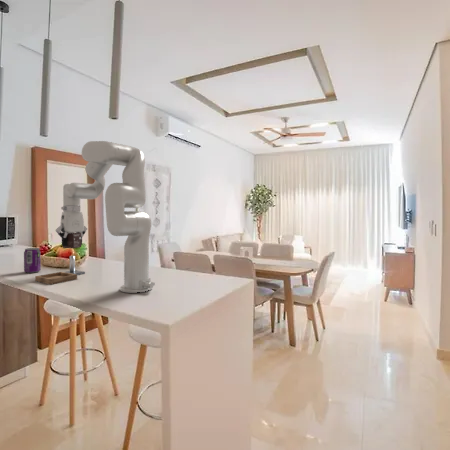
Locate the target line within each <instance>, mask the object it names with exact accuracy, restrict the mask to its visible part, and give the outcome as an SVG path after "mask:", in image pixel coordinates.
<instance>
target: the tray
mask: <svg viewBox="0 0 450 450" xmlns="http://www.w3.org/2000/svg"><path fill="white" fill-rule="evenodd" d="M65 272H66V271H57V272H52V273H46V274H41V275H40V274H39V275H35V280H34V281H35V282H37V281H38V282H39V283H43V284H48V285H57V284H61V283H66V282H71V281H75V280H78V275H77V274H71V273H65Z"/></svg>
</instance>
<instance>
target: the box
mask: <svg viewBox="0 0 450 450" xmlns="http://www.w3.org/2000/svg"><path fill="white" fill-rule="evenodd" d="M66 238H67V246H62V248H63V249H77V248H82V245H81V233H76V232H73V233H68V234H67V236H66Z"/></svg>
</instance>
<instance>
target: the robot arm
mask: <svg viewBox="0 0 450 450" xmlns="http://www.w3.org/2000/svg"><path fill="white" fill-rule="evenodd" d="M81 157H82V159H83V160H84V161H86V162H87V163H86V165H85V166H84V167H85V168H84V169H85V173H86V174H87V176H89V177H90V178H91V179H93V180H94V182H93V183H84V182H71V183H65V184H64V185H63V186H62V188H63V189H62V190H63V191H62V195H63V198H62V199H63V200H62V201H63V206H61V207H60V209H61V210H63V211H62V213H61V216H60V225H59V226H58V227H57V228H56V229H55V232H56V233H57V235H58V236H60V238H61V247H63V246H67V238H66V236H67V234H68V233H81V246H82V245H83V237H84V235H85V233H86V232H87V230H88V228H87V227H86V226H85V221H84V216H83V215H84V214H83V212H82V211H81V200H96V199H97V198H98V197H100V195H101V194H102V193H103V192H104V190H105V194H104V204H105V216H106V217H105V218H106V226H107V230H108V232H109V234H111V235H112V236H114V237H126V236H127V238H126V241H125V242H124V246H123V248H124V249H123V259H124V260H123V263H124V264H123V269H124V270H123V272H124V274H123V275H124V276H123V278H124V279H123V282H124V283H123V285H121V286H120V287H119V290H120V292H123V293H127V294H128V293H130V294H137V292H140V293H146V292H149V291H151V290H153V288H154V286H156V284H155V283H156V282H153V281H151V278H150V277H149V273H150V272H149V267H150V265H149V261H150V260H149V253H150V250H149V249H150V234H151V229H152V218H151V217H150V215H149V214H148V213H146V212H144V211H140V210H139V211H138V210H137V211H136V210H134V211H133V210H128V211H127V210H126V211H125V209H139V208H142V207H143V206H145V204H146V198H147V197H146V196H147V195H146V183H145V163H146V158H145V155H144V152H143V151H142V150H141V149H139V148H137V147H133V146H130V145H126V144H122V143H117V142H112V141H107V140H106V141H105V140H90V141H88V142H86V143H84V144H83V147H82V149H81ZM113 165H115V166H121V167H124V169H123V170H122V173H121V174H122V175H121V177H122V182H113V183H110V184H109V185H108V186H107V188H106V179H105V175H107V173H108V171H109V170H110V169H111V168H112V166H113ZM105 188H106V189H105ZM148 290H149V291H148ZM145 291H146V292H145Z"/></svg>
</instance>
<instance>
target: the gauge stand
mask: <svg viewBox="0 0 450 450" xmlns="http://www.w3.org/2000/svg"><path fill="white" fill-rule="evenodd" d="M64 272H65V273H71V274H77V276H81V275H85V274H86V271H83V270H76V256H75V255H69V270H67V271H64Z"/></svg>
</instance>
